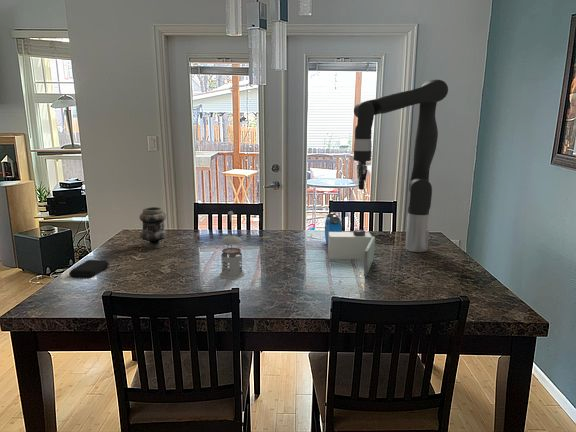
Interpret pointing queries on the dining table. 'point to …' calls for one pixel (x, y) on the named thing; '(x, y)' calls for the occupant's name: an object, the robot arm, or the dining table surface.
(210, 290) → the dining table surface
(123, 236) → the dining table surface
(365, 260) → the side door
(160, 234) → the apothecary jar
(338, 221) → the alarm clock
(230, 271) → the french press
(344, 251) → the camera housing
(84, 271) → the carrying case or bag
